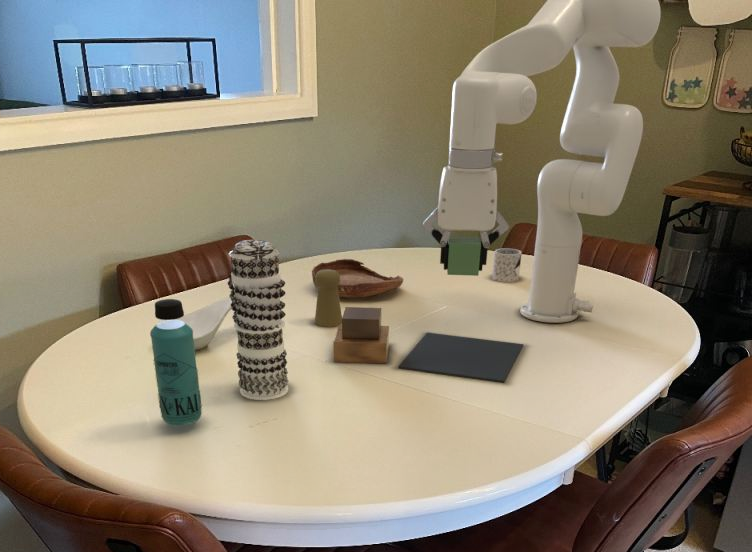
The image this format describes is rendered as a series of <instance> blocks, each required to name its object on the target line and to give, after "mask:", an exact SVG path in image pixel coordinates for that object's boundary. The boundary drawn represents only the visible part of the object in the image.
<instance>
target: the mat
mask: <svg viewBox="0 0 752 552" xmlns="http://www.w3.org/2000/svg"><path fill="white" fill-rule="evenodd" d="M523 347H524V344H523V343H517V342H509V341H508V342H507V341H500V340H491V339H482V338H475V337H467V336H459V335H451V334H443V333H436V332H435V333H433V332H426V333H425V334H424V336H422V338H421V339H420V340H419V341H418V343H417V344H416V345H414V347H413V348H412V350H411V351H410V352H409V353H408V354H407V356H405V358H404V359H403V360H402V361H401V363H400V364H399V365H398V367H397V368H398V369H402V370H408V371H415V372H423V373H430V374H437V375H446V376H452V377H460V378H468V379H474V380H481V381H488V382H495V383H504V384H505V383H506V380H507V378H508V376H509V375H510V372H511V371H512V369H513V367H514V364H515V363H516V361H517V358H518V357H519V354H520V353H521V351H522V349H523Z"/></svg>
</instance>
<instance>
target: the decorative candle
mask: <svg viewBox="0 0 752 552" xmlns="http://www.w3.org/2000/svg"><path fill="white" fill-rule="evenodd" d="M280 254H281V252H280V251H279V250H278V249H276V248H275V247H274V245H273V244H272V242H271V243H270V242H269V241H267V240H263V239H246V240H242V241H239V242H237V243H236V244H235V245H234V246H233V249H232V250H231V251H229V252H228V256H229V257H230V259H231V260H230V263H231V264H230V265H231V273H230V276H231V277H229V278H228V281H227V285H228V289H229V290H230V294H229V297H230V298H231V301H232V303H231V307H232V309H231V311H233V314H232V320H233V323H234V324H233V328H234V329H235V330H236V331H237V353H236V359H237V360H238V361H237V363H236V364H237V368H239V370H238V372H237V375H238V378H239V379H238V384H239V387H240V389H239V393H240V394H241V396H242V397H244V398H247V399H249V400H255V401H270V400H275V399H276V400H277V399H279V398H281V397H283V396H285V395H286V394H287V393H288V391H289V385H288V383H289V380H288V377H287V376H288V373H289V371H288V368H287V367H286V366H287V364H288V361H287V358H286V356H287V354H288V353H287V350H286V349H285V340H284V338H283V335H284V333H283V329H284V328H285V323H286V322H285V320H284V317H286V312H284V311H283V309H284V308H285V307H286V303H285V302H284V301H283V300H281V298H283V297H284V296H285V295H286V291H285V290H284V289H282V288H283V287H285V286H286V281H285V280H283V279H282V277H281V270H280V267H279V266H280V261H279V259H280V258H279V256H280ZM235 304H236V305H235Z"/></svg>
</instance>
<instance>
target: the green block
mask: <svg viewBox="0 0 752 552" xmlns="http://www.w3.org/2000/svg"><path fill="white" fill-rule="evenodd" d="M448 244H449V255H448V269H447V270H446V272H447V273H446V275H447V276H474V277H478V276H479V274H480V273H479V272H480V271H479V262H480V251H481V236H457V235H450V237H449V239H448Z"/></svg>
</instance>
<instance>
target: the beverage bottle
mask: <svg viewBox="0 0 752 552" xmlns="http://www.w3.org/2000/svg"><path fill="white" fill-rule="evenodd" d="M183 307H184V306H183V303H182V301H181V300H179V299H174V298H164V299H160V300H158V301H156V302H155V303H154V317H155V318H156V319H158V320H162V321H159V322H157V323H156V324H155V325H154V326H153V328H152V329H151V330H150V332H149V334H150V339H151V346H152V354H153V360H152V362H153V366H154V367H153V368H154V371H155V378H154V379H155V380H156V382H155V383H156V384H155V385H156V387H157V394H158V395H157V398H158V399H157V400H158V405H159V406H158V407H159V412H160V414H159V415H160V417H161V418H162V420H163V422H164V423H166V424H168V425H174V426H182V425H183V426H184V425H189V424H193V423H195V422H197V421H199V420H200V418H201V417H202V410H203V408H202V407H203V405H202V397H201V390H200V382H199V378H200V377H199V369H198V367H197V359H196V350H195V349H194V340H193V330H192V328H191V327H190V326H188V325H187V324H186V323H184V322H182V321H178V320H174V319H178V318H181V317H183V316H184V315H185V311H184V308H183Z"/></svg>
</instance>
